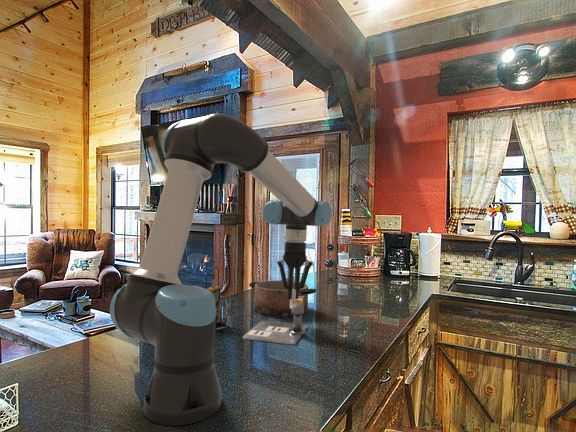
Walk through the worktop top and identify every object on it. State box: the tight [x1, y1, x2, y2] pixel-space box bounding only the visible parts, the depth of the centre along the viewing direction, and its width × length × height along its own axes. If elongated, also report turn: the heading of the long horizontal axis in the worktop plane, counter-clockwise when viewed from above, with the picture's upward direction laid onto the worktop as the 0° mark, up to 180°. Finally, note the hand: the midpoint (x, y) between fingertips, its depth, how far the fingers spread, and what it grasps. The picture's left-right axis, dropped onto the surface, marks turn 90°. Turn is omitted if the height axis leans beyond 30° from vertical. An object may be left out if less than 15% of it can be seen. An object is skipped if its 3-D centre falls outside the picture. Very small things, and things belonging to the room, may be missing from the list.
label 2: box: [265, 326, 289, 334], centre depth 121 cm, size 5×7×1 cm
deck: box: [242, 314, 308, 346], centre depth 121 cm, size 19×18×7 cm
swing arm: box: [292, 296, 304, 315], centre depth 125 cm, size 16×4×3 cm, turn 176°
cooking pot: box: [248, 280, 317, 318], centre depth 151 cm, size 30×22×11 cm
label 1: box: [247, 330, 273, 338], centre depth 116 cm, size 5×7×1 cm
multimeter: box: [205, 267, 233, 331], centre depth 128 cm, size 15×10×20 cm
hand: (292, 308), depth 127 cm, fingers closed
